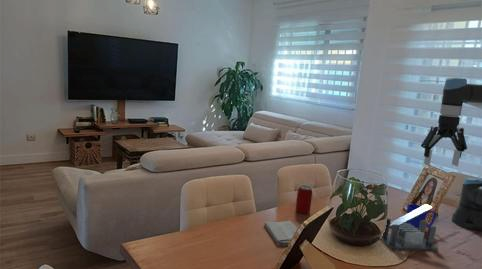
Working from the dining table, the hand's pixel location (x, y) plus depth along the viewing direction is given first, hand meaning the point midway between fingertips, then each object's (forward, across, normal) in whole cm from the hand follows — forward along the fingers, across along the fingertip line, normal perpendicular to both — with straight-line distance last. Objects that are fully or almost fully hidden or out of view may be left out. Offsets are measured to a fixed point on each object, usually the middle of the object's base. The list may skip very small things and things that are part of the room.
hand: (440, 165), depth 149 cm
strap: (+20, +17, +9) cm, 28 cm away
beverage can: (+30, +51, -22) cm, 63 cm away
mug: (+31, +2, -4) cm, 32 cm away
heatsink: (+31, +17, +8) cm, 36 cm away
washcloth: (+31, +67, +2) cm, 74 cm away
